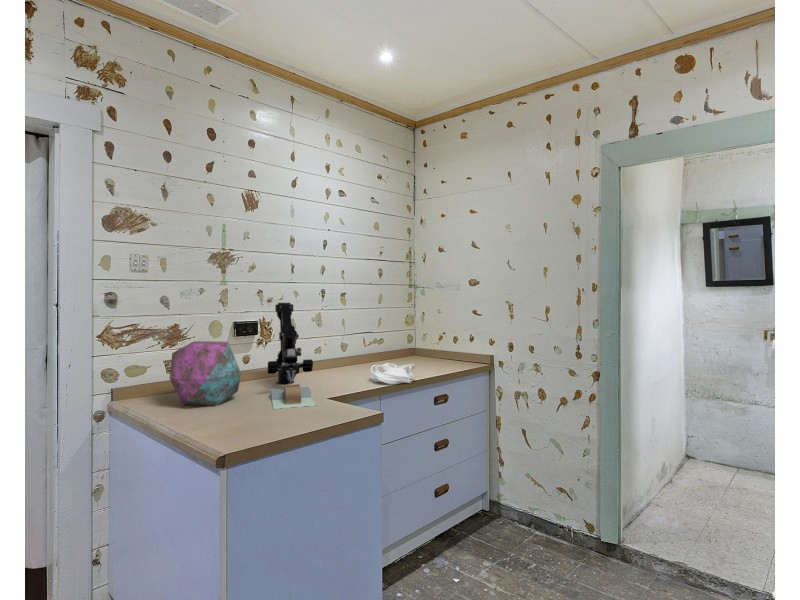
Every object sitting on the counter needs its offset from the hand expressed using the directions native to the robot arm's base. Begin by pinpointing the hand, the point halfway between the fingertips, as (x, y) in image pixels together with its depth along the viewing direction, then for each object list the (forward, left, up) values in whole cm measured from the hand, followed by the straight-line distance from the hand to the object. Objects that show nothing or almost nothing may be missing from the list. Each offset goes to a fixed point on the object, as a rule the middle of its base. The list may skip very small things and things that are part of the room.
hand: (291, 382), depth 199 cm
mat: (+5, -4, -7) cm, 10 cm away
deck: (-4, +4, -7) cm, 9 cm away
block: (0, 0, -4) cm, 4 cm away
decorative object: (-27, -21, -7) cm, 35 cm away
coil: (+15, +55, -7) cm, 58 cm away
